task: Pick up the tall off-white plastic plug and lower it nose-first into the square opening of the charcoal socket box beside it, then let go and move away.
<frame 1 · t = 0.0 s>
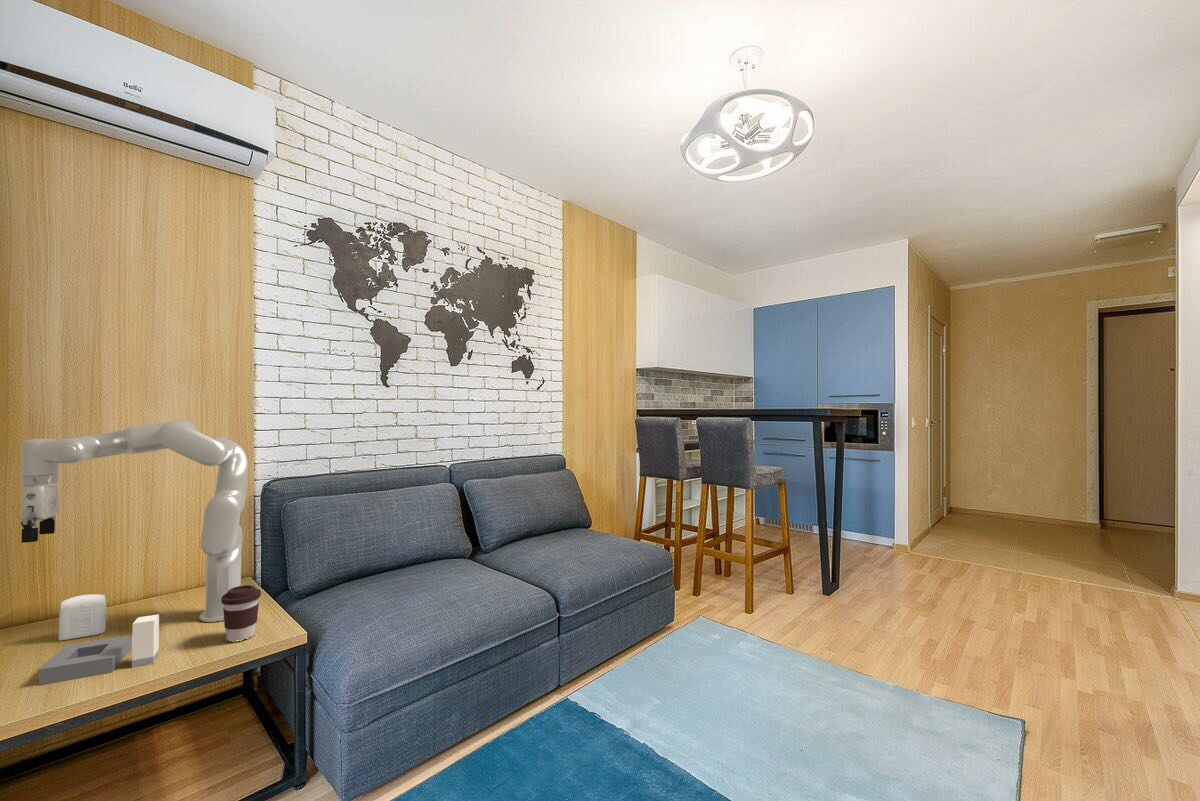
hand: (38, 537, 150), 31 cm above the table, tool pointing down, fingers open, 9 cm apart
socket box: (88, 665, 138), on the table
photo printer: (82, 636, 155), on the table
coffee cup: (240, 638, 155), on the table
plug: (145, 661, 140), on the table
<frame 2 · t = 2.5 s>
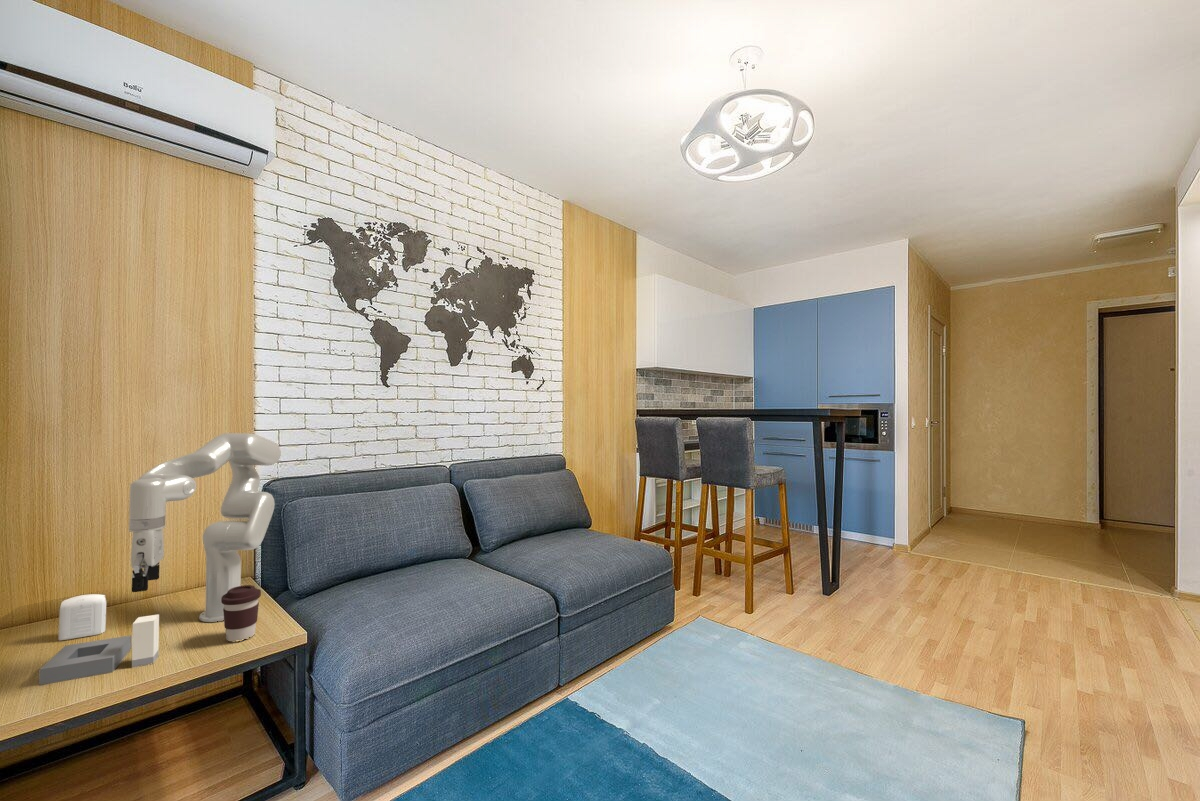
hand: (145, 585, 140), 21 cm above the table, tool pointing down, fingers open, 9 cm apart
nothing on the table moved.
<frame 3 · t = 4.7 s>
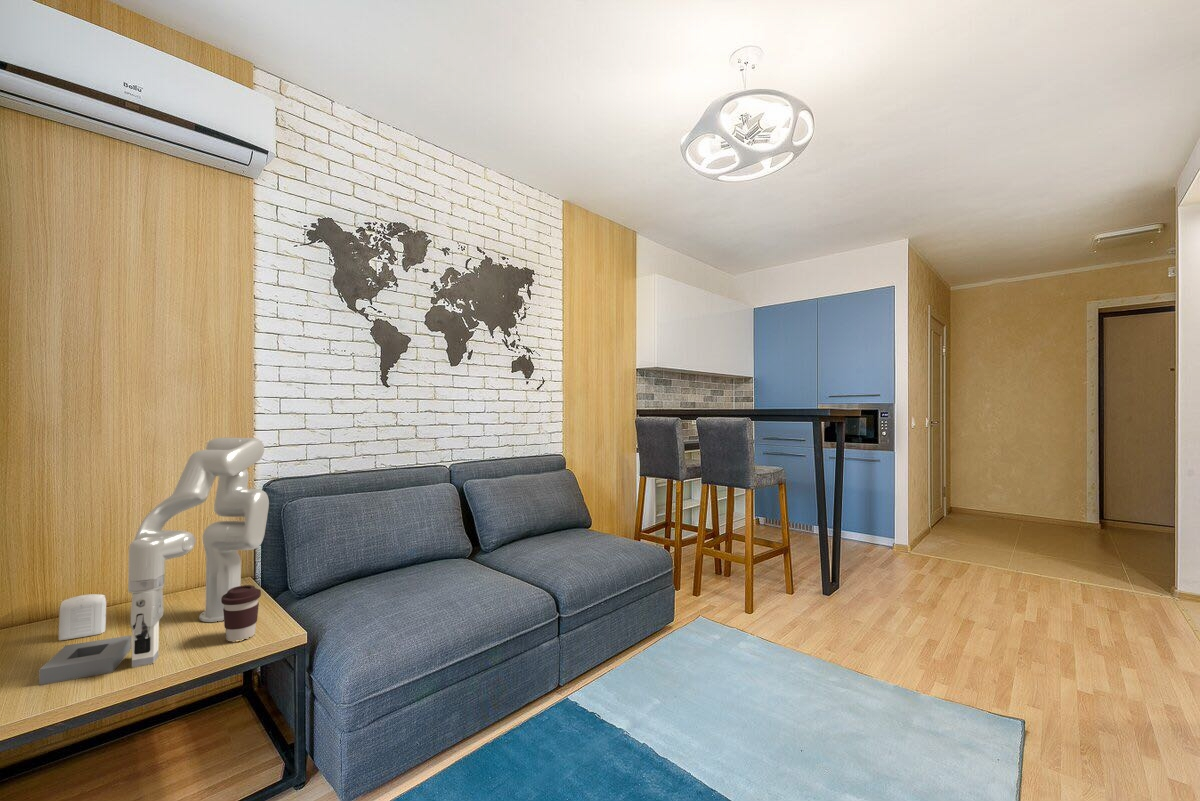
hand: (145, 648, 140), 4 cm above the table, tool pointing down, fingers closed on plug, 4 cm apart
plug: (145, 661, 140), on the table, touching gripper
everything else where it was.
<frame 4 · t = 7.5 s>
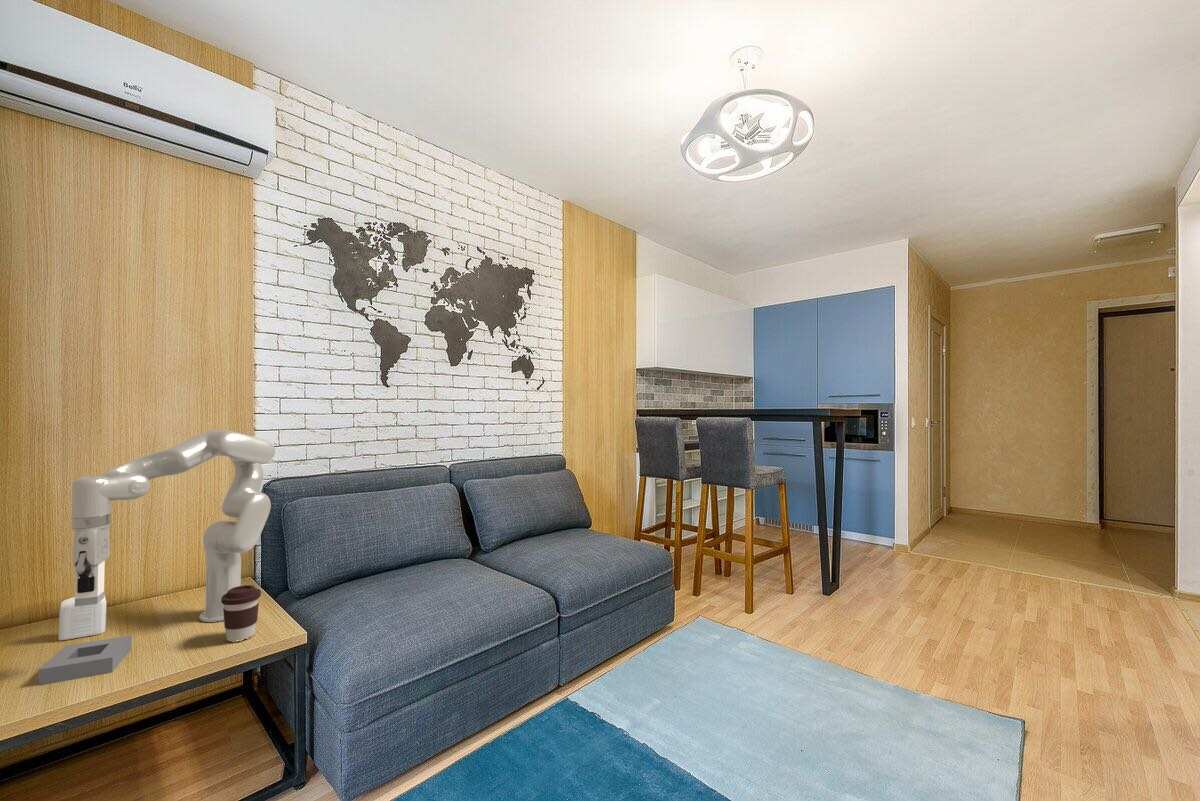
hand: (90, 588, 138), 21 cm above the table, tool pointing down, fingers closed on plug, 4 cm apart
plug: (89, 602, 138), point 17 cm above the table, touching gripper
everything else where it was.
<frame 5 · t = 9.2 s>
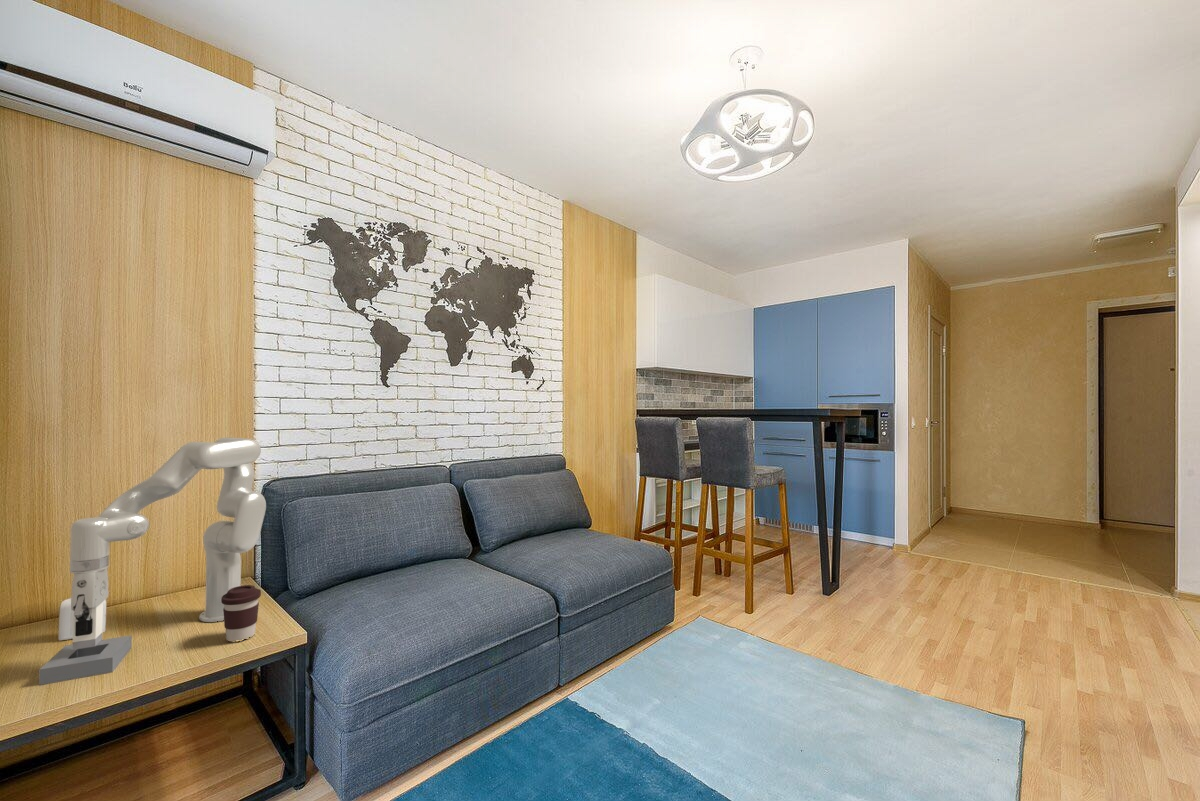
hand: (88, 630, 137), 10 cm above the table, tool pointing down, fingers closed on plug, 4 cm apart
plug: (87, 644, 137), point 6 cm above the table, touching gripper
everything else where it was.
when the fingers open (5 cm above the table, at t = 10.4 s): plug drops 1 cm, resting in socket box.
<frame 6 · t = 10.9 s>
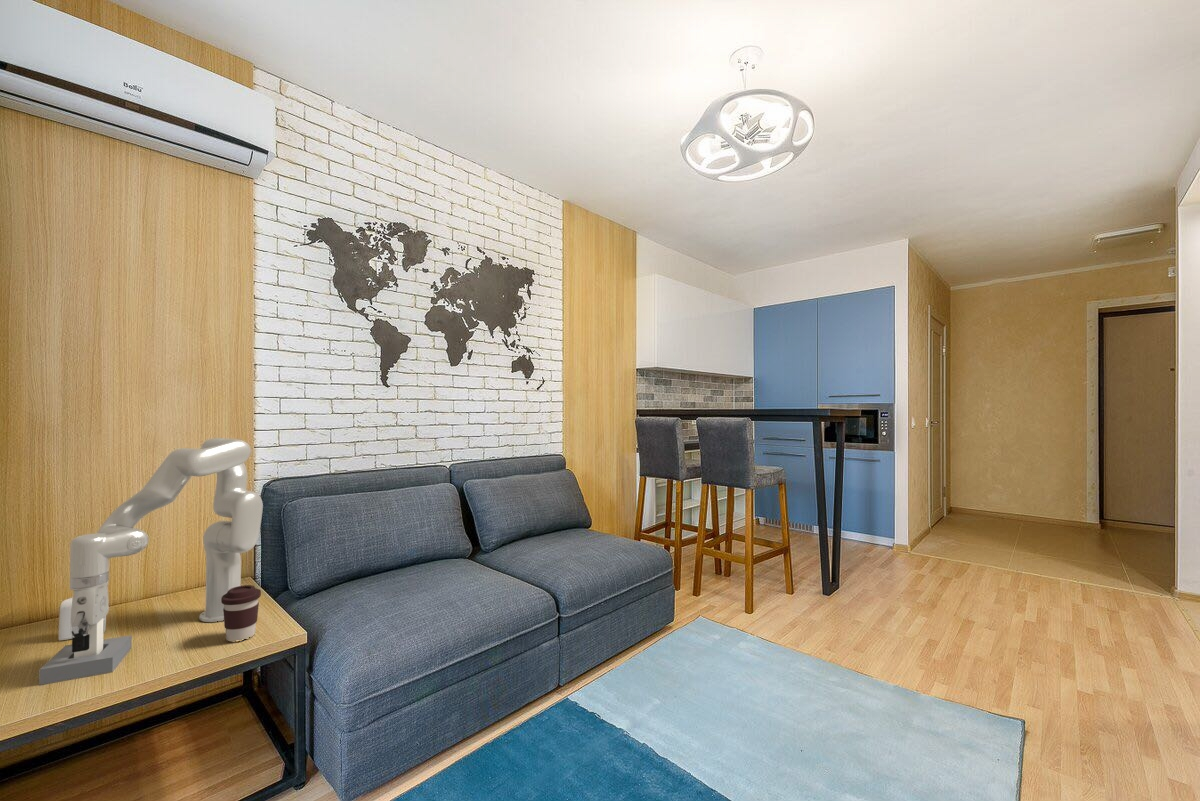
hand: (88, 642, 138), 6 cm above the table, tool pointing down, fingers open, 9 cm apart
plug: (88, 665, 138), resting in socket box
everything else where it was.
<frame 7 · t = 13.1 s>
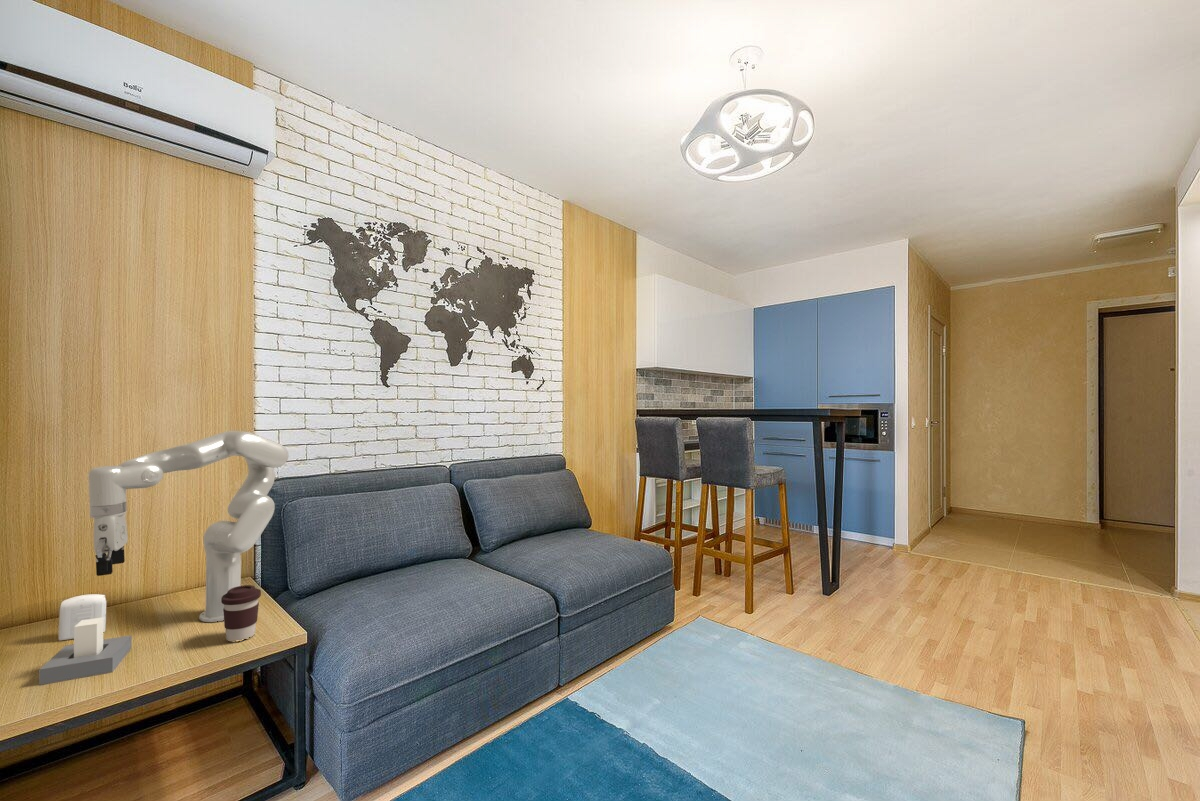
hand: (111, 569, 144), 24 cm above the table, tool pointing down, fingers open, 9 cm apart
nothing on the table moved.
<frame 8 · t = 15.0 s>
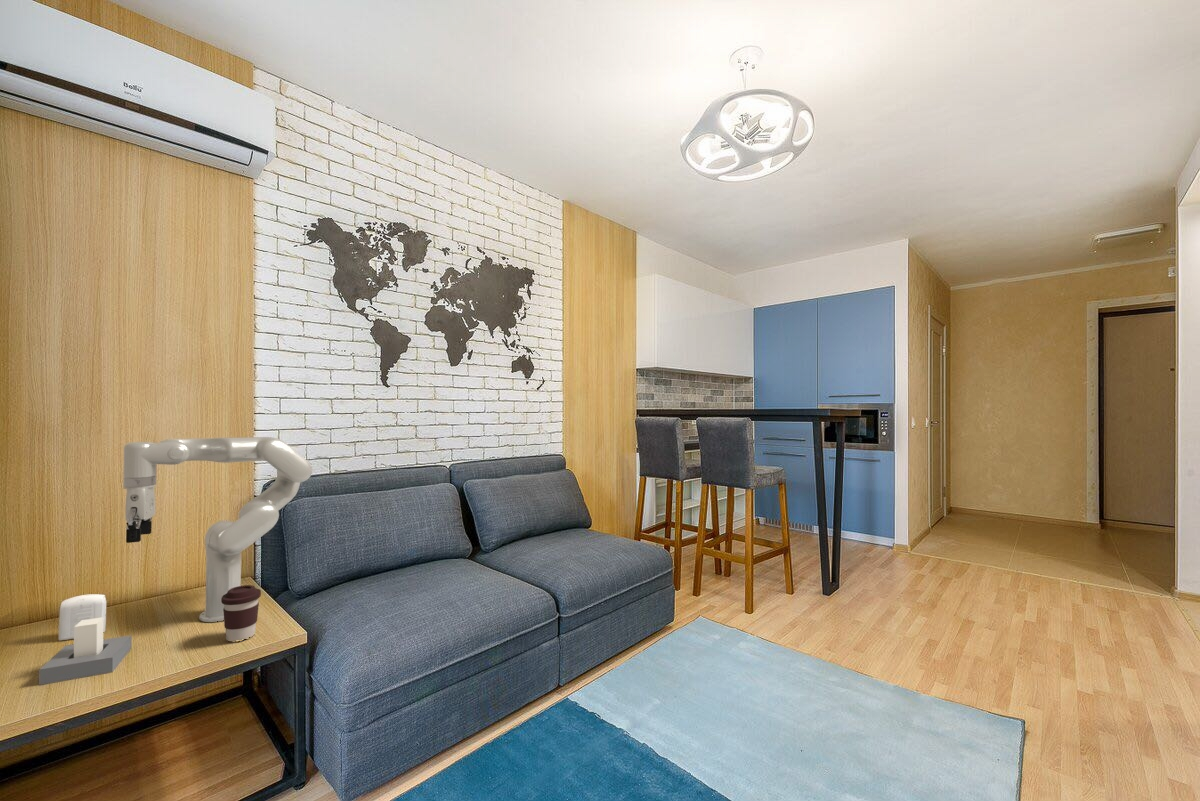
hand: (139, 538, 155), 30 cm above the table, tool pointing down, fingers open, 9 cm apart
nothing on the table moved.
at the end: plug 0.1 cm off-centre on the socket box, point 0.0 cm above the socket box's base; plug tilted 0°; the gripper is holding nothing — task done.
